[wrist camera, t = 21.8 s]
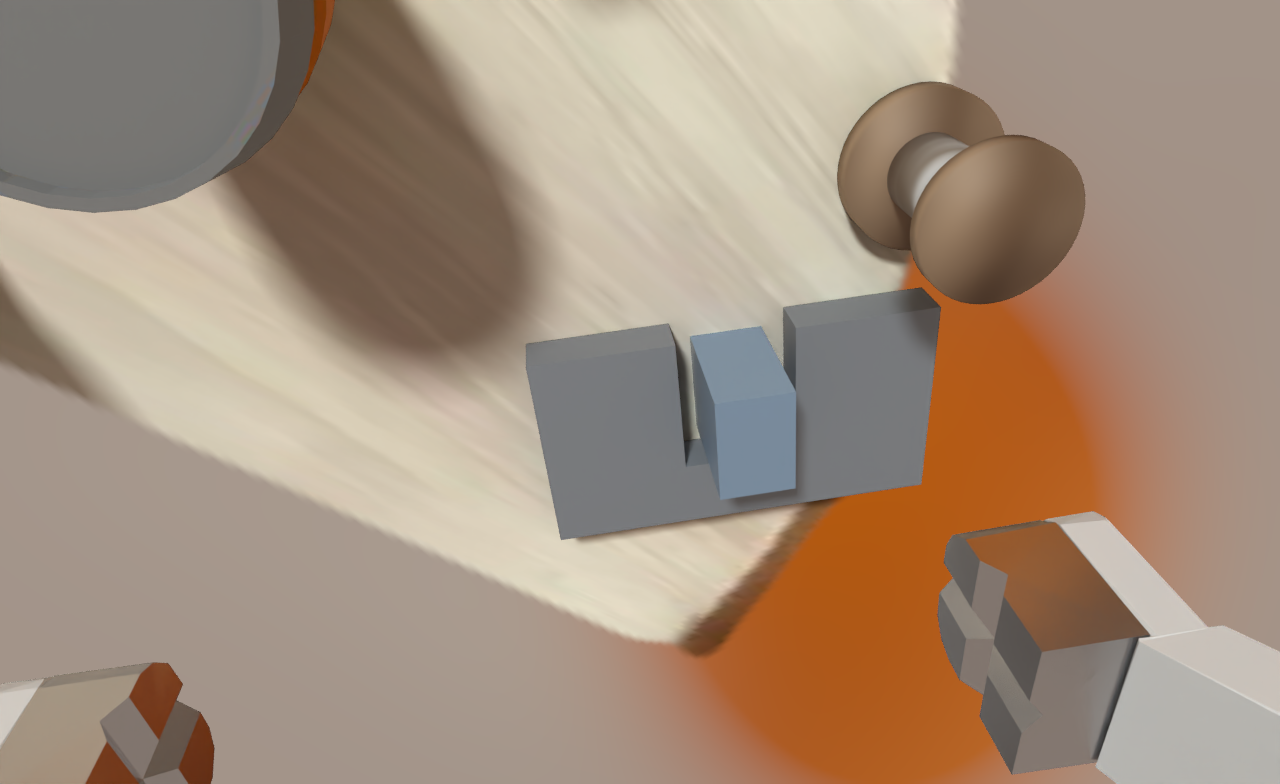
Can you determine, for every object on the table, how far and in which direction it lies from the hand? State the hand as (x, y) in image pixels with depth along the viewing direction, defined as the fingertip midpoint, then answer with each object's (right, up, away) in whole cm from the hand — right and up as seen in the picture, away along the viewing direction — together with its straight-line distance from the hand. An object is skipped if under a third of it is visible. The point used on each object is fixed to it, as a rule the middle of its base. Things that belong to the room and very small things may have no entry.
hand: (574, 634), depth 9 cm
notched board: (+6, +2, +39) cm, 39 cm away
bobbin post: (+15, +14, +32) cm, 38 cm away
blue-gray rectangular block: (+6, +3, +38) cm, 39 cm away
